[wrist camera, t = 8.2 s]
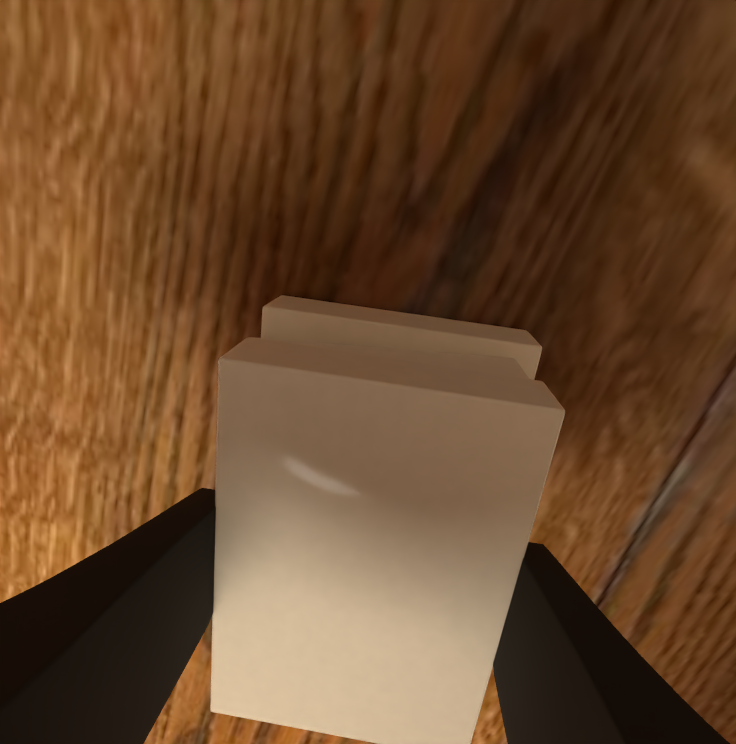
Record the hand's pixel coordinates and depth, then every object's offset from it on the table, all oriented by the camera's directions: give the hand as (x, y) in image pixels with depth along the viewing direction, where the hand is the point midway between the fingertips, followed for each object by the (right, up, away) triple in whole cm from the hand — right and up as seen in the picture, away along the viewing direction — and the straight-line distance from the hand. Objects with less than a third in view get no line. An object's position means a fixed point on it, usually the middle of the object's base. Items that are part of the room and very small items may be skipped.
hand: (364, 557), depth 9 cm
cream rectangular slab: (0, 0, +1) cm, 1 cm away
